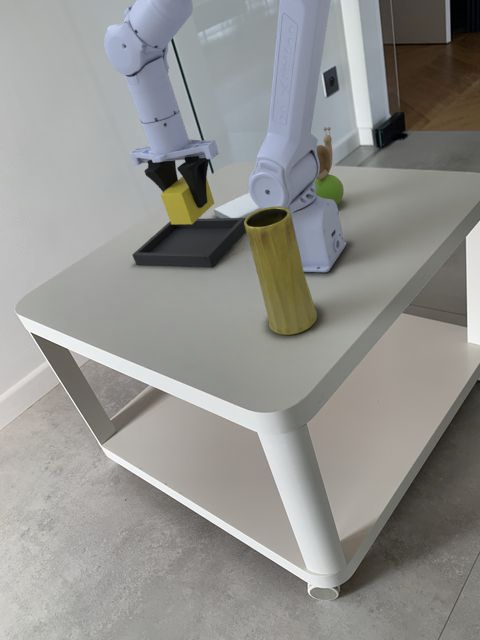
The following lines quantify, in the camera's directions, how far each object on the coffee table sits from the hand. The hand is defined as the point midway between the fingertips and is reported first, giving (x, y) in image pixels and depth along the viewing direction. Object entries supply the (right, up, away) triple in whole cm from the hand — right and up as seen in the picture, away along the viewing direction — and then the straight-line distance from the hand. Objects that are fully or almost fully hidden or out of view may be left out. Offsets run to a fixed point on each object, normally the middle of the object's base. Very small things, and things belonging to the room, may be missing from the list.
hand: (190, 205), depth 86 cm
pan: (-1, -5, +8) cm, 9 cm away
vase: (+15, -19, -17) cm, 29 cm away
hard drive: (+10, +3, +15) cm, 18 cm away
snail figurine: (+23, +2, +7) cm, 24 cm away
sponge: (0, -1, +1) cm, 1 cm away
